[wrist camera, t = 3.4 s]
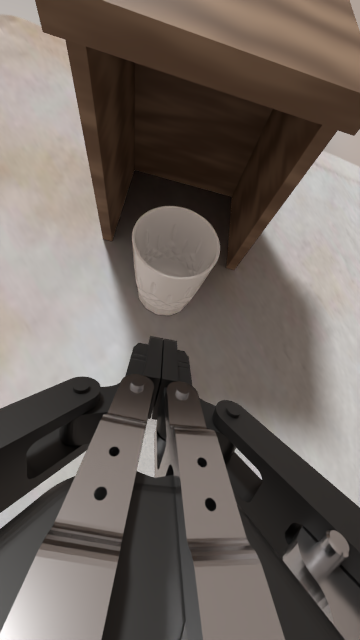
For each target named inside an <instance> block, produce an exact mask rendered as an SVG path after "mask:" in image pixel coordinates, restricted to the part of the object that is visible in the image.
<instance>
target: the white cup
mask: <svg viewBox="0 0 360 640" xmlns="http://www.w3.org/2000/svg"><path fill="white" fill-rule="evenodd" d="M132 245H133V257H134V270H135V278H136V284H137V288H138V295H139V299H140V301H141V302H142V304H143V305H144V306H145V308H146V309H148V310H150V311H152V312H153V313H155V314H158V315H168V316H169V315H172V314H175V313H178V312H180V311H181V310H182V309H183V308H184V307H185V306H186V305H187V304H188V302H189V301H190V300H191V299H192V297H193V296H194V295H195V293H196V292H197V291H198V289H199V288H200V286H201V285H202V283H203V282H204V280H205V279H206V277H207V276H208V274H209V273H210V271H211V270H212V268H213V267H214V265H215V264H216V262H217V260H218V258H219V254H220V242H219V238H218V235H217V233H216V231H215V230H214V228H213V227H212V225H211V224H210V223H209V222H208V221H207V220H206V219H205V218H204V217H202V216H201V215H199V214H198V213H196V212H194V211H192V210H190V209H187V208H183V207H179V206H161V207H157V208H154V209H151V210H149V211H148V212H146V213H144V214H143V215H142V216H141V217H140V218H139V219H138V221H137V222H136V224H135V226H134V228H133V232H132Z"/></svg>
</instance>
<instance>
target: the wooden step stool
mask: <svg viewBox="0 0 360 640" xmlns="http://www.w3.org/2000/svg"><path fill="white" fill-rule="evenodd" d="M35 2H36V6H37V10H38V14H39V18H40V22H41V26H42V30H43V32H44V33H47V34H50V35H53V36H56V37H59V38H62V39H65V40H66V45H67V50H68V55H69V61H70V66H71V71H72V77H73V82H74V87H75V92H76V98H77V103H78V108H79V114H80V119H81V124H82V130H83V135H84V140H85V146H86V151H87V156H88V161H89V167H90V172H91V177H92V183H93V188H94V193H95V199H96V204H97V209H98V215H99V220H100V225H101V230H102V236H103V239H105V240H109V241H113V237H114V234H115V231H116V228H117V225H118V221H119V218H120V215H121V212H122V209H123V205H124V202H125V199H126V196H127V193H128V189H129V186H130V183H131V180H132V177H133V173H134V170H137V171H140V172H144V173H147V174H151V175H155V176H158V177H162V178H166V179H169V180H173V181H176V182H180V183H184V184H187V185H191V186H195V187H198V188H202V189H205V190H209V191H213V192H216V193H220V194H223V195H227V196H231V197H232V200H231V213H230V226H229V239H228V252H227V265H226V268H228V269H232V270H235V268H236V267H237V266H238V264H239V263H240V262H241V260H242V259H243V257H244V256H245V255H246V253H247V252H248V251H249V249H250V248H251V247H252V245H253V244H254V243H255V241H256V240H257V239H258V237H259V236H260V235H261V233H262V232H263V230H264V229H265V228H266V226H267V225H268V224H269V222H270V221H271V220H272V218H273V217H274V216H275V214H276V213H277V212H278V210H279V209H280V208H281V206H282V205H283V203H284V202H285V201H286V199H287V198H288V197H289V195H290V194H291V193H292V191H293V190H294V189H295V187H296V186H297V185H298V183H299V182H300V181H301V179H302V178H303V176H304V175H305V174H306V172H307V171H308V170H309V168H310V167H311V166H312V164H313V163H314V162H315V160H316V159H317V158H318V156H319V155H320V154H321V152H322V151H323V149H324V148H325V147H326V145H327V144H328V143H329V141H330V140H331V139H332V137H333V136H334V135H335V133H336V132H337V131H338V130H339V131H342V132H344V133H347V134H350V135H355V134H356V133H357V132H358V130H359V129H360V31H359V28H358V25H357V22H356V19H355V16H354V13H353V10H352V7H351V4H350V0H35Z"/></svg>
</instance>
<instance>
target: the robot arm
mask: <svg viewBox="0 0 360 640" xmlns="http://www.w3.org/2000/svg"><path fill="white" fill-rule="evenodd" d="M152 410H153V411H152ZM151 414H152V419H155V420H157V427H156V430H155V434H154V456H155V478H154V477H150V476H147V475H145V474H142V473H140V472H137V466H138V462H139V457H140V452H141V447H142V443H143V438H144V433H145V428H146V424H147V420H148V419H150V418H151ZM236 448H237V449H238V450H239V451H240V452H241V453H242V454H243V455H244V456H245V457H246V458H247V459H248V460H249V461H250V462H251V463H252V464H253V465H254V466H255V467H256V468H257V469H258V470H259V472H260V474H261V476H262V480H261V479H260V478H259V477H258V476H257V475H256V474H255V473H254V472H253V471H252V470H251V469H250V468H249V467H248V466H247V465H246V464H245V463H244V461H243V460H242V459H241V458H240V457H239V456H238V455H237V454H236V453H235V452H234V451H235V449H236ZM86 450H87V451H86ZM85 451H86V453H85V456H84V458H83V460H82V462H81V465H80V467H79V469H78V471H77V474H76V476H74V477H72V478H69V479H67V480H65V481H63V482H61V483H59V484H57V485H56V486H54V487H53V488H51V489H50V490H48V491H47V492H45V493H44V494H43V495H42V496H40V497H39V498H38V499H37V500H35V501H34V502H33V503H32V504H31V505H29V506H28V507H27V508H26V509H24V510H23V511H22V512H21V513H19V514H18V515H17V516H16V517H15V518H13V519H12V520H11V521H10V522H8V523H7V524H6V525H5V526H3V527H2V528H1V529H0V640H360V508H359V507H358V506H357V505H356V504H355V503H354V502H352V501H351V500H350V499H349V498H348V497H347V496H345V495H344V494H343V493H342V492H341V491H340V490H338V489H337V488H336V487H335V486H334V485H333V484H331V483H330V482H329V481H328V480H327V479H326V478H324V477H323V476H322V475H321V474H320V473H318V472H317V471H316V470H315V469H314V468H313V467H311V466H310V465H309V464H308V463H307V462H306V461H304V460H303V459H302V458H301V457H300V456H299V455H297V454H296V453H295V452H294V451H293V450H292V449H290V448H289V447H288V446H287V445H286V444H285V443H283V442H282V441H281V440H280V439H279V438H278V437H276V436H275V435H274V434H273V433H272V432H270V431H269V430H268V429H267V428H266V427H265V426H263V425H262V424H261V423H260V422H259V421H258V420H256V419H255V418H254V417H253V416H252V415H251V414H249V413H248V412H247V411H246V410H245V409H244V408H242V407H241V406H240V405H238V404H237V403H235V402H232V401H228V400H223V401H220V402H218V403H217V405H216V406H214V405H212V404H210V403H207V402H205V401H203V400H201V399H200V398H199V396H198V393H197V391H196V389H195V388H194V387H193V386H192V380H191V373H190V365H189V357H188V356H187V354H186V353H185V352H184V351H180V350H177V341H174V340H169V339H164V340H163V338H158V337H153V336H150V339H149V344H142V343H138V344H137V345H136V346H135V347H134V348H133V352H132V355H131V359H130V362H129V365H128V369H127V372H126V376H125V377H124V378H123V379H122V381H121V382H120V383H119V384H117V385H114V386H109V387H100V384H99V383H98V382H97V381H96V380H94V379H92V378H89V377H75V378H72V379H69V380H67V381H65V382H62V383H60V384H58V385H55V386H53V387H51V388H48V389H46V390H43V391H41V392H39V393H36V394H34V395H32V396H29V397H27V398H25V399H22V400H20V401H17V402H15V403H13V404H10V405H8V406H6V407H3V408H1V409H0V513H1V512H2V511H4V510H5V509H6V508H8V507H9V506H10V505H12V504H13V503H15V502H16V501H17V500H19V499H20V498H21V497H23V496H24V495H26V494H27V493H28V492H30V491H31V490H32V489H34V488H35V487H37V486H38V485H39V484H41V483H42V482H43V481H45V480H46V479H48V478H49V477H50V476H52V475H53V474H55V473H56V472H57V471H59V470H60V469H61V468H63V467H64V466H66V465H67V464H68V463H70V462H71V461H72V460H74V459H75V458H77V457H78V456H79V455H81V454H82V453H83V452H85Z"/></svg>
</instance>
